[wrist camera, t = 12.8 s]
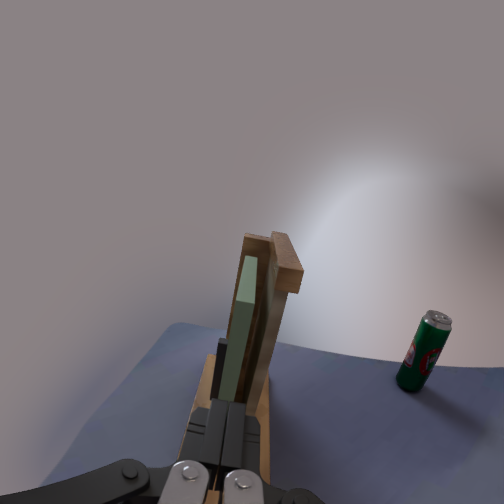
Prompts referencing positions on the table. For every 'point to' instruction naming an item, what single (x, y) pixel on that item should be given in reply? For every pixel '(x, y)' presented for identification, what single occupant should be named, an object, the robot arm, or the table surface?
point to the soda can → (424, 351)
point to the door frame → (258, 334)
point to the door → (235, 336)
